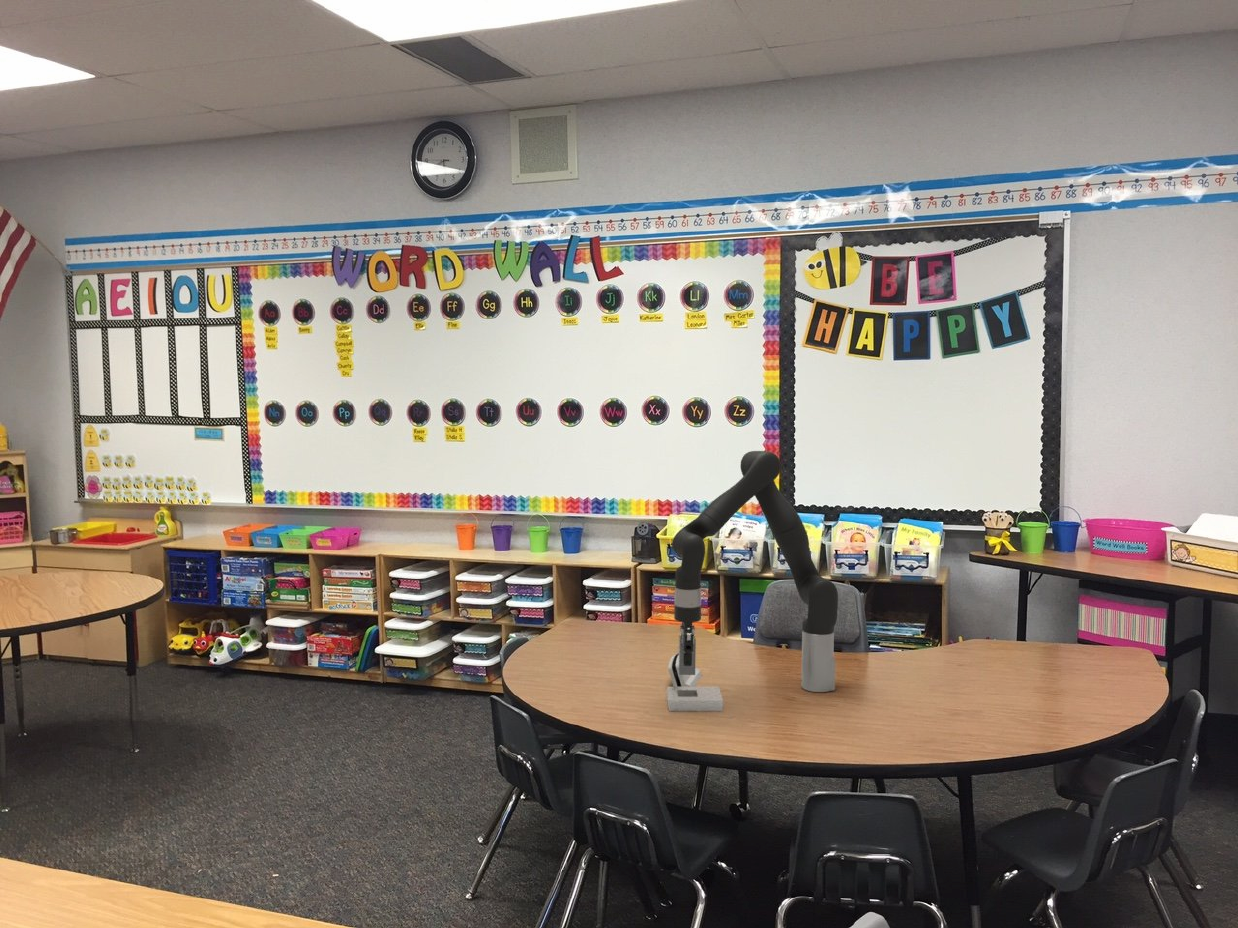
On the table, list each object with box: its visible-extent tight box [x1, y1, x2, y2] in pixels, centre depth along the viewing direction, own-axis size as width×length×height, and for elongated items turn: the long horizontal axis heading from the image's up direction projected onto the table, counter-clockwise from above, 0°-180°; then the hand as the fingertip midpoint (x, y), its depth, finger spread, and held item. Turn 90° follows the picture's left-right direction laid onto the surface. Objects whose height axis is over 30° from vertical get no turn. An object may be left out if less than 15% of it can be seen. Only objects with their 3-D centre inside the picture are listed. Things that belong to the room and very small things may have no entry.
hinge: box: [668, 652, 703, 687], centre depth 286 cm, size 17×5×10 cm, turn 164°
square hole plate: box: [666, 686, 724, 712], centre depth 267 cm, size 15×12×3 cm
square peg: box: [678, 635, 697, 675], centre depth 266 cm, size 4×4×10 cm
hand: (687, 662), depth 266 cm, fingers closed on square peg, 4 cm apart
